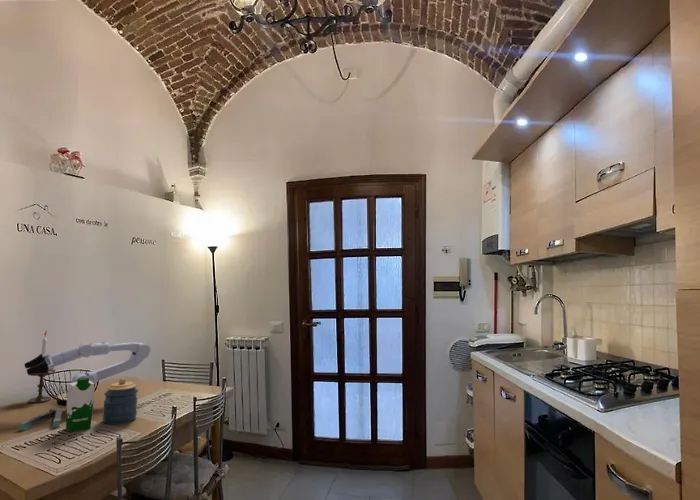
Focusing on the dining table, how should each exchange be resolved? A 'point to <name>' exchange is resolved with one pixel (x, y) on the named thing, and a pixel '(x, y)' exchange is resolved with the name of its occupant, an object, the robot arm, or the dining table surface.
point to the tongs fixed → (56, 417)
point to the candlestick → (41, 378)
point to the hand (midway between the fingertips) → (25, 369)
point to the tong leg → (34, 421)
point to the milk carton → (79, 405)
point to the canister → (120, 402)
